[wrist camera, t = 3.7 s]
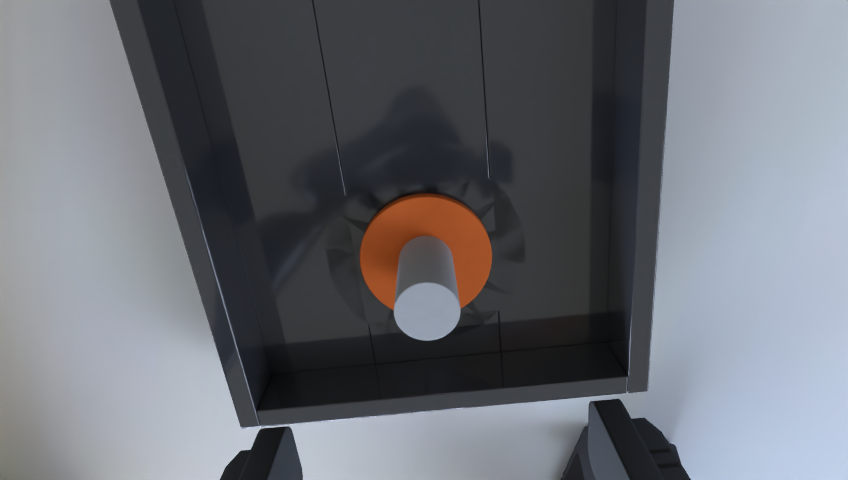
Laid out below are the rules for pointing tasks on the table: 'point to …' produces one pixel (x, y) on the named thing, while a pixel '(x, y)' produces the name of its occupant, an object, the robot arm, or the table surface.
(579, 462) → the phone stand
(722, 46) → the table surface
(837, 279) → the table surface
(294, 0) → the sink
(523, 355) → the dark grey tray
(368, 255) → the plug
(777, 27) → the table surface
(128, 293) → the table surface
